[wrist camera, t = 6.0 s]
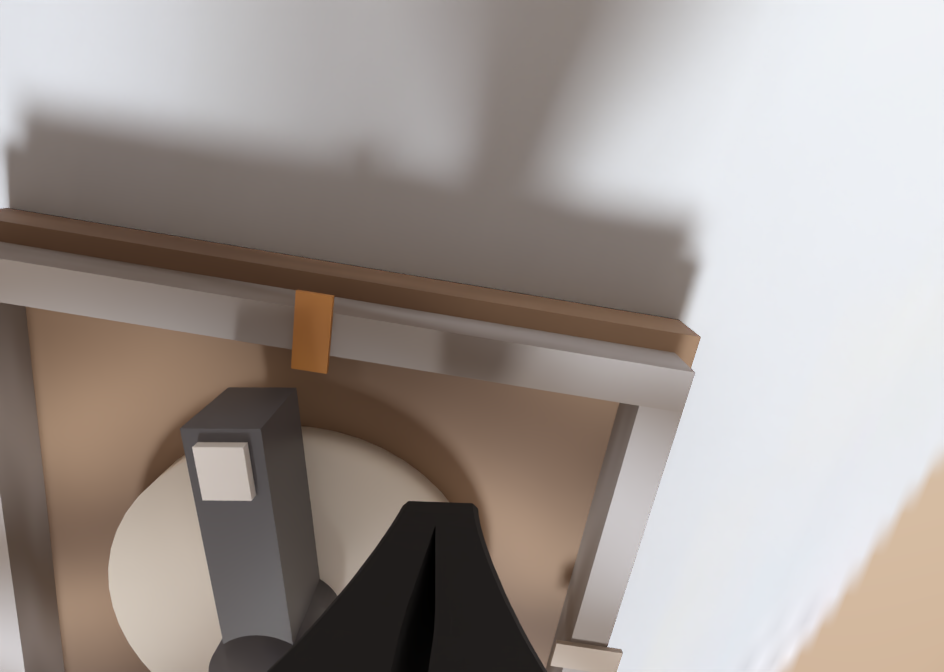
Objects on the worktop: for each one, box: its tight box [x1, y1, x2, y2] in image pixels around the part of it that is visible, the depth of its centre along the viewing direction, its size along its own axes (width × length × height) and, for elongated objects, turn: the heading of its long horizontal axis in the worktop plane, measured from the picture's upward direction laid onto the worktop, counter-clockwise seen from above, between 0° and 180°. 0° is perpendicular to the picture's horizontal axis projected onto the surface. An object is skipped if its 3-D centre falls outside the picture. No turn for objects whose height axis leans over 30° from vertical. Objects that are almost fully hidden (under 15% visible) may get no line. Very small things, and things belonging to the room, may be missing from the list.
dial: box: [108, 387, 449, 672], centre depth 13 cm, size 12×10×3 cm
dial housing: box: [0, 208, 701, 672], centre depth 15 cm, size 18×18×3 cm
